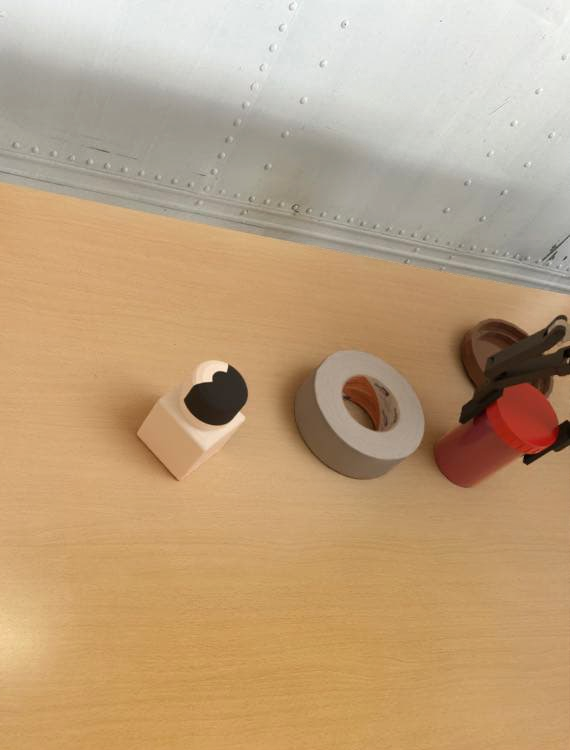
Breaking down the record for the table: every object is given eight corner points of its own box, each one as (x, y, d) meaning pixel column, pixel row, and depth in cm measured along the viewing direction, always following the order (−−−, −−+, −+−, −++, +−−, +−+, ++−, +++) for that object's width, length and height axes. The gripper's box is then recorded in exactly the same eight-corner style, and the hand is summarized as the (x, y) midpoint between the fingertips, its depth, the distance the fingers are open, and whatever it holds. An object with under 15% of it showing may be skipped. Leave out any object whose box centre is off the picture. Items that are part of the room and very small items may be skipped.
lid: (551, 413, 96) (563, 405, 95) (542, 468, 91) (554, 460, 90) (492, 374, 95) (502, 365, 93) (479, 427, 90) (490, 419, 89)
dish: (544, 363, 117) (558, 353, 115) (533, 430, 110) (547, 421, 108) (468, 313, 115) (480, 301, 113) (451, 377, 108) (464, 367, 106)
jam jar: (487, 454, 104) (555, 408, 95) (478, 498, 100) (547, 455, 91) (440, 424, 103) (503, 375, 94) (428, 467, 99) (493, 420, 90)
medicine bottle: (219, 450, 88) (269, 392, 78) (178, 482, 84) (226, 425, 74) (176, 404, 89) (221, 340, 78) (134, 434, 85) (175, 371, 75)
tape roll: (270, 400, 94) (291, 376, 90) (346, 355, 102) (368, 331, 98) (350, 500, 92) (375, 481, 88) (421, 447, 100) (447, 427, 96)
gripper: (568, 285, 74) (416, 411, 93) (742, 405, 77) (561, 503, 96) (576, 239, 78) (429, 369, 97) (741, 354, 81) (567, 458, 100)
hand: (494, 435), depth 96 cm, fingers closed on lid, 9 cm apart
